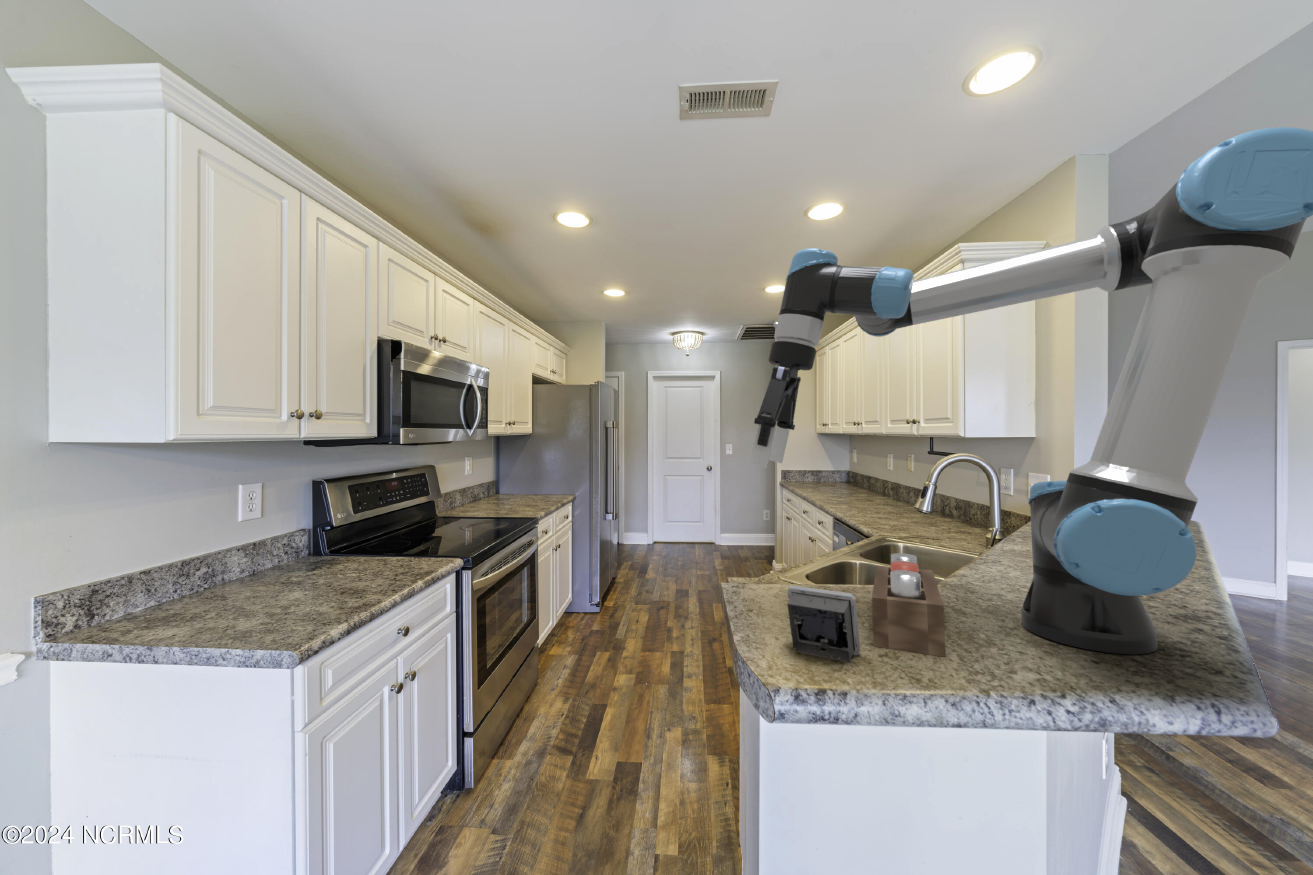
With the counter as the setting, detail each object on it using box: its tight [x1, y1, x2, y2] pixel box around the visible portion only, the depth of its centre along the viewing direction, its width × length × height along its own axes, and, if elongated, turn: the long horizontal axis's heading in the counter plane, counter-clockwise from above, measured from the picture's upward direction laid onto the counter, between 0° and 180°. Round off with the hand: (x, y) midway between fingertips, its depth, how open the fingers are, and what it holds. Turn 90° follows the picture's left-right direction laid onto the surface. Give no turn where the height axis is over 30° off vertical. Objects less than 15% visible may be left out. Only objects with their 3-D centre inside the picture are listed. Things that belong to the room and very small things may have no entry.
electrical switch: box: [786, 585, 861, 664], centre depth 66 cm, size 9×5×9 cm, turn 57°
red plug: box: [890, 561, 920, 573], centre depth 76 cm, size 4×4×6 cm
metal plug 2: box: [890, 570, 921, 600], centre depth 70 cm, size 4×4×6 cm
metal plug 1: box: [890, 552, 918, 564], centre depth 82 cm, size 4×4×6 cm
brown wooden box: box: [871, 565, 946, 658], centre depth 76 cm, size 9×21×7 cm, turn 153°
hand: (767, 463), depth 83 cm, fingers open, 13 cm apart
